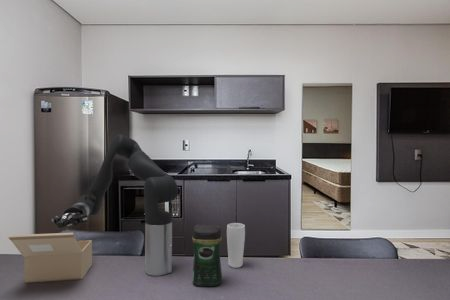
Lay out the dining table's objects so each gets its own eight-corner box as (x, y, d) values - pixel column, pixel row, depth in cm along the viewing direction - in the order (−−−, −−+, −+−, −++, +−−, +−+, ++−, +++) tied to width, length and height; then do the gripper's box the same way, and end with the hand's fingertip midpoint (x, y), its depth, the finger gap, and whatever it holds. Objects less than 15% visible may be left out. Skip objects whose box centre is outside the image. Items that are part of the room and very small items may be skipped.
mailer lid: (73, 232, 85) (72, 234, 84) (82, 251, 93) (81, 253, 93) (9, 235, 82) (8, 237, 81) (24, 254, 90) (23, 256, 90)
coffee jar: (222, 276, 96) (222, 222, 96) (221, 288, 89) (221, 228, 88) (193, 275, 97) (194, 221, 97) (190, 287, 89) (190, 228, 89)
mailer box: (92, 264, 105) (92, 240, 105) (81, 279, 93) (81, 252, 93) (41, 267, 102) (41, 242, 102) (24, 283, 90) (24, 255, 90)
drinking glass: (243, 270, 102) (243, 228, 101) (224, 268, 103) (225, 227, 103) (245, 262, 108) (246, 223, 108) (228, 261, 110) (228, 222, 109)
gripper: (59, 204, 113) (39, 215, 96) (94, 203, 116) (81, 213, 99) (59, 223, 113) (39, 237, 96) (94, 222, 116) (81, 235, 99)
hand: (60, 225), depth 98 cm, fingers closed
